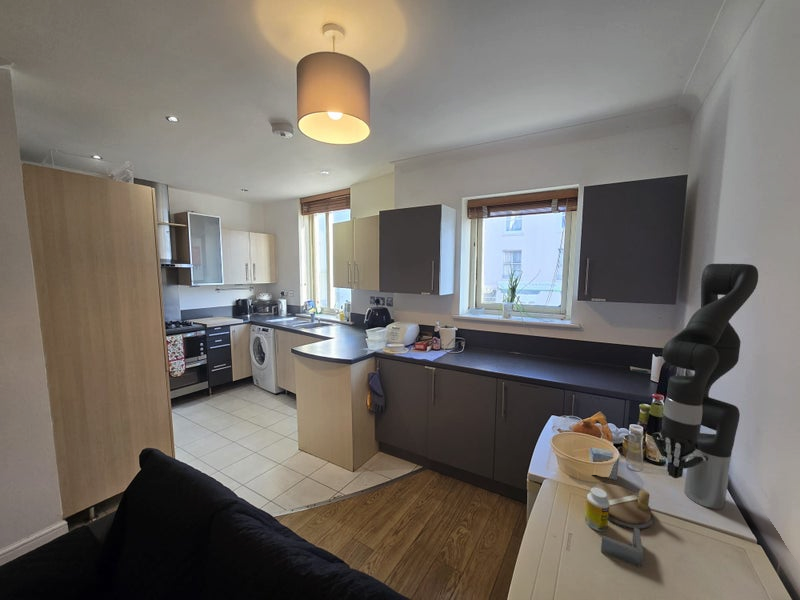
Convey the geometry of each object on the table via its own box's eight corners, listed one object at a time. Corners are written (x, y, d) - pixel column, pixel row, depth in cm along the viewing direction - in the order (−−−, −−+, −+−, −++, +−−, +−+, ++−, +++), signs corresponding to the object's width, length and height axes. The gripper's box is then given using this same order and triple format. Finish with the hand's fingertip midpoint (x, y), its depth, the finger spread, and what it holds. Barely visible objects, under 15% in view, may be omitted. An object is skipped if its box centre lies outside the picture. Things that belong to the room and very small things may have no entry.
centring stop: (634, 539, 87) (636, 526, 86) (659, 561, 80) (660, 547, 80) (598, 549, 84) (599, 535, 83) (620, 572, 78) (622, 558, 77)
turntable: (617, 483, 106) (619, 466, 106) (664, 519, 92) (666, 499, 91) (580, 491, 103) (582, 473, 102) (622, 529, 89) (624, 509, 88)
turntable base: (617, 485, 107) (617, 483, 107) (666, 524, 92) (667, 521, 92) (577, 494, 104) (578, 491, 103) (622, 535, 88) (622, 532, 88)
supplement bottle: (601, 535, 88) (604, 502, 87) (581, 521, 93) (583, 490, 91) (610, 526, 91) (614, 494, 90) (590, 513, 96) (593, 482, 94)
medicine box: (613, 472, 114) (615, 450, 113) (617, 481, 110) (619, 458, 109) (588, 468, 116) (590, 446, 115) (591, 475, 112) (593, 453, 111)
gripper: (722, 427, 78) (713, 491, 80) (666, 403, 91) (659, 459, 93) (700, 431, 76) (691, 496, 78) (645, 406, 89) (639, 463, 91)
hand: (674, 476), depth 86 cm, fingers closed
